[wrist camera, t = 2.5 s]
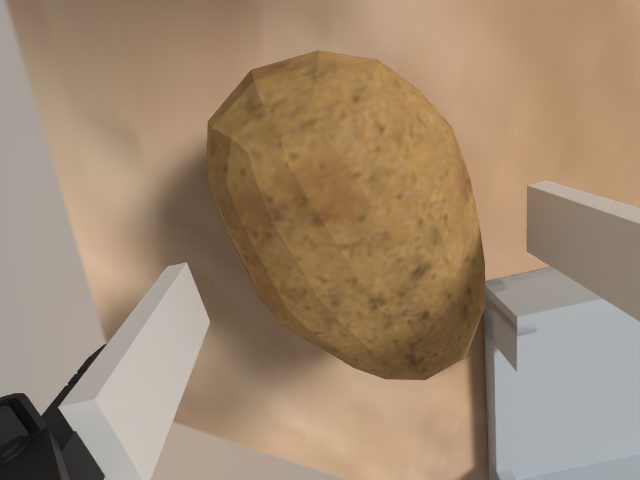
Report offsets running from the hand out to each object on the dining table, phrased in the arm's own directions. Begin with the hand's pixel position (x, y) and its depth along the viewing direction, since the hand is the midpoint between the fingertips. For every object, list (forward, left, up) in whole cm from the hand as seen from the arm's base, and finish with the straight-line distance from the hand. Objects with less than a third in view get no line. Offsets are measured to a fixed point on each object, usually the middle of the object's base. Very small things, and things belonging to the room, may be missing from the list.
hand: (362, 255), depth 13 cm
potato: (0, 0, -6) cm, 6 cm away
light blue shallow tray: (+16, +15, -5) cm, 22 cm away
